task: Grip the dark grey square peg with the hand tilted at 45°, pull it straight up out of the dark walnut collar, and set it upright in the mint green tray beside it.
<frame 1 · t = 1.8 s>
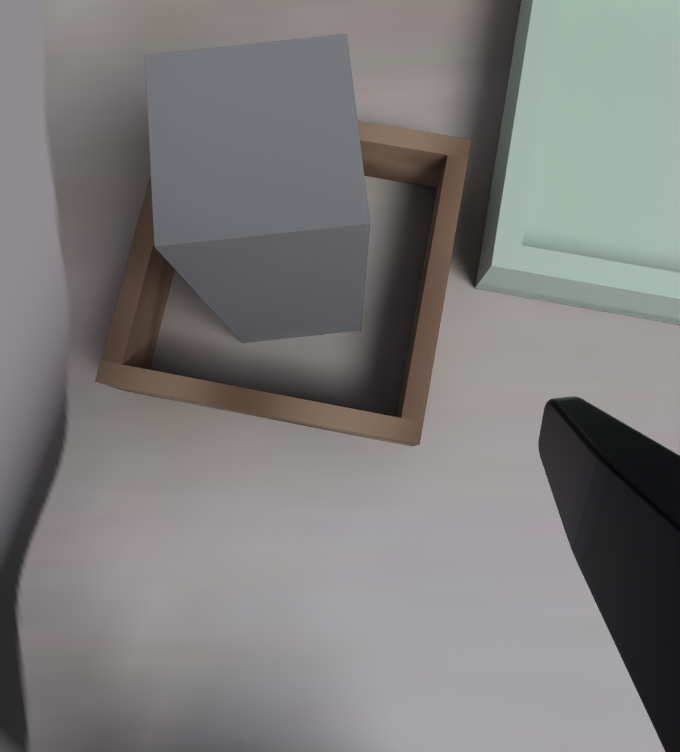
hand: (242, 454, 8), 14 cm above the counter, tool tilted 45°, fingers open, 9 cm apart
grey peg: (280, 228, 18), in the walnut collar
walnut collar: (295, 279, 22), on the counter
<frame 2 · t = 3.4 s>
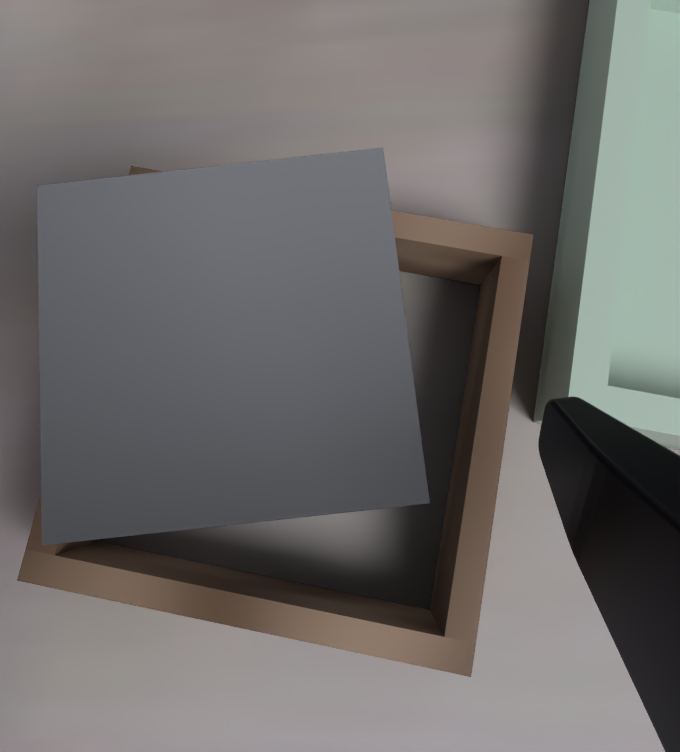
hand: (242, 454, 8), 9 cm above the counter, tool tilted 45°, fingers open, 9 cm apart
grey peg: (274, 387, 12), in the walnut collar
walnut collar: (296, 409, 17), on the counter
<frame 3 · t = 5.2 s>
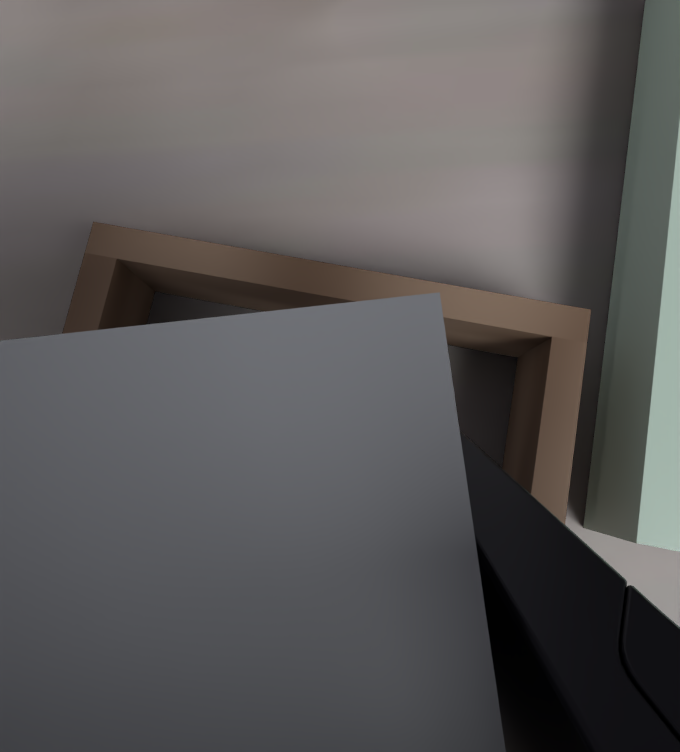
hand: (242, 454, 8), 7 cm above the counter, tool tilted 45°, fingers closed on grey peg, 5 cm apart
grey peg: (267, 536, 9), in the walnut collar, touching gripper
walnut collar: (296, 510, 14), on the counter
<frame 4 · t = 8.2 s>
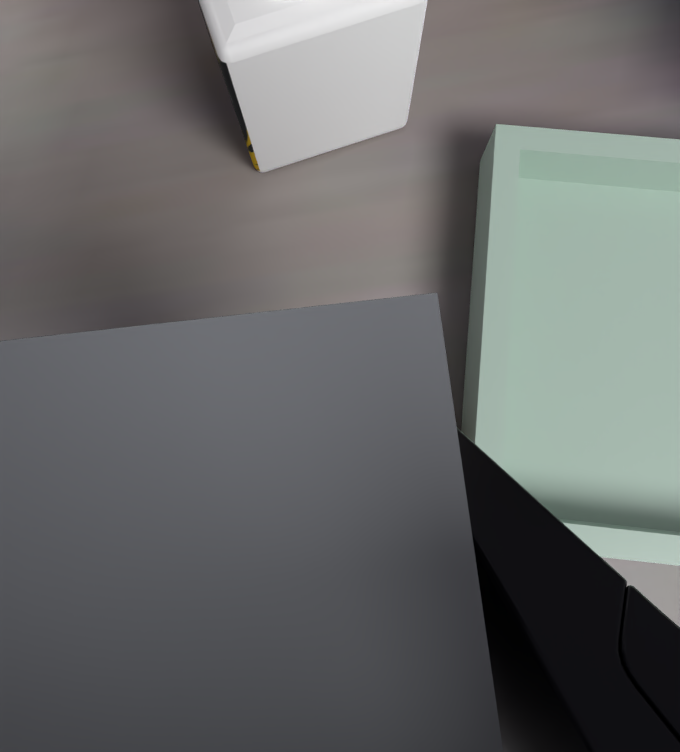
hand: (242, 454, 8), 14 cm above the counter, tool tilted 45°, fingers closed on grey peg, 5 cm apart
mint green tray: (661, 355, 22), on the counter
grey peg: (266, 536, 9), point 12 cm above the counter, touching gripper
medicine bottle: (309, 89, 24), on the counter
when the fingers open (8 cm above the counter, at t = 11.4 s): grey peg drops 1 cm, resting on mint green tray.
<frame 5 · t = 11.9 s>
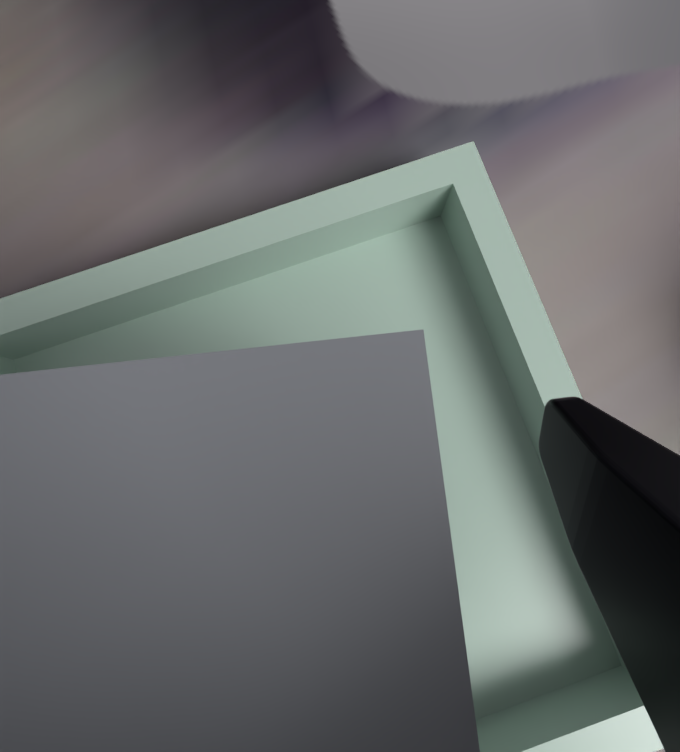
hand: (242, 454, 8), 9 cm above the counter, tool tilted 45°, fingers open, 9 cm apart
mint green tray: (303, 502, 16), on the counter
grey peg: (279, 526, 10), in the mint green tray, point 6 cm above the counter
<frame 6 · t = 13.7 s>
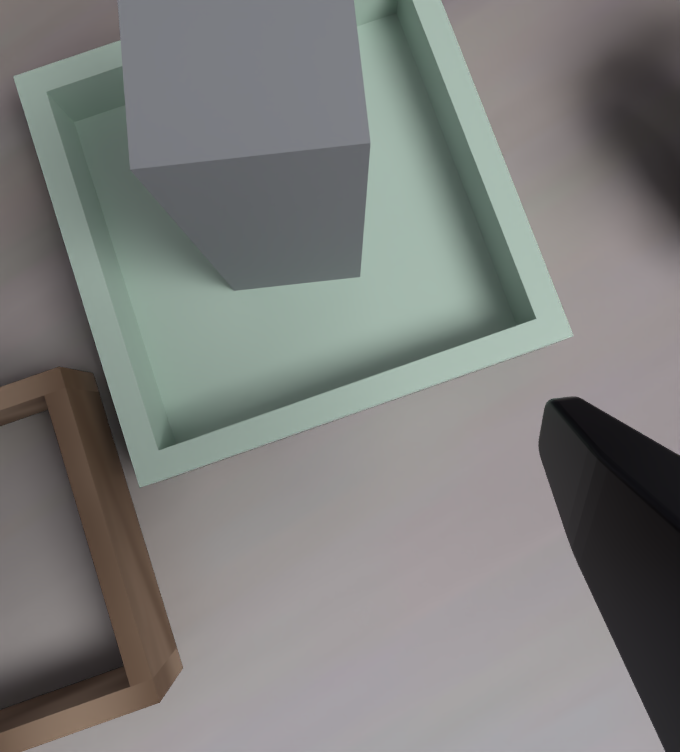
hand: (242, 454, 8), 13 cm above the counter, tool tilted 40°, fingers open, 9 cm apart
mint green tray: (292, 228, 22), on the counter
grey peg: (273, 160, 16), in the mint green tray, point 6 cm above the counter
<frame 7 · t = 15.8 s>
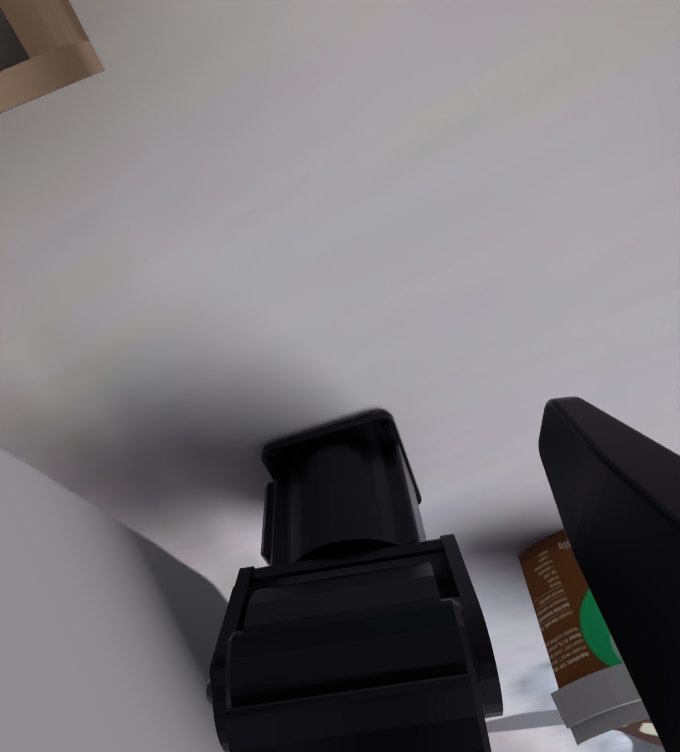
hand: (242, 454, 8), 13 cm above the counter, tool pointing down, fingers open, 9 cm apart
food container: (609, 542, 32), on the counter
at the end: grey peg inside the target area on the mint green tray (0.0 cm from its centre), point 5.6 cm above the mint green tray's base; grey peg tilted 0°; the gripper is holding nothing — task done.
